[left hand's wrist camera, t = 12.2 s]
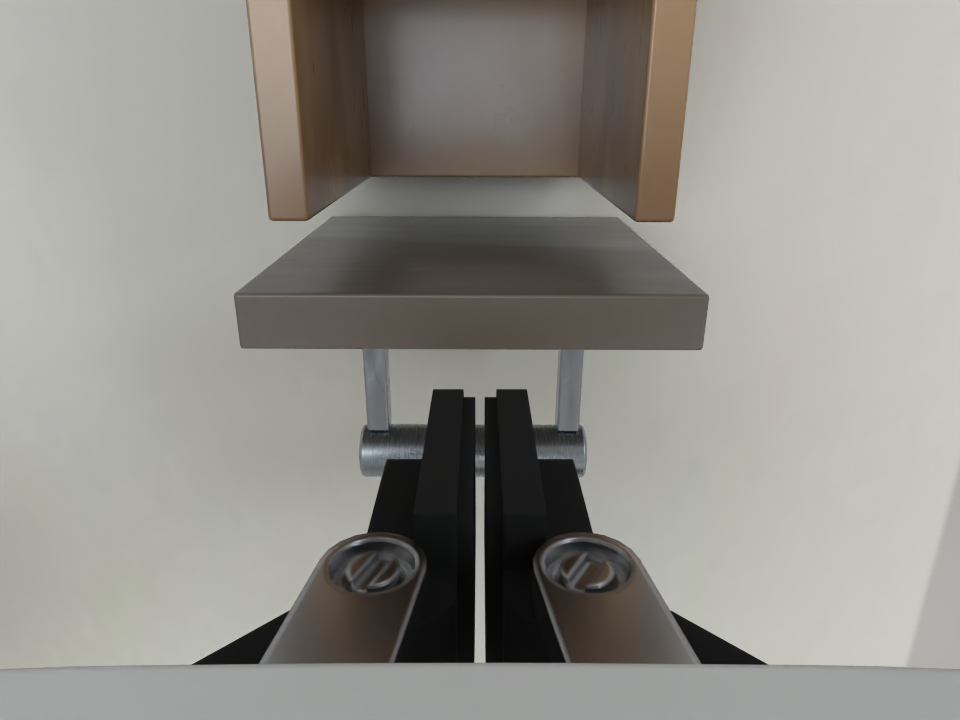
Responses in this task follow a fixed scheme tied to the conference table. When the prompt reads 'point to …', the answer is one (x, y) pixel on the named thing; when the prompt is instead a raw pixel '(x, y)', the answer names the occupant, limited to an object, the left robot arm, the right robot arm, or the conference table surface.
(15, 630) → the conference table surface
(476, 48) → the drawer
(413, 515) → the left robot arm
